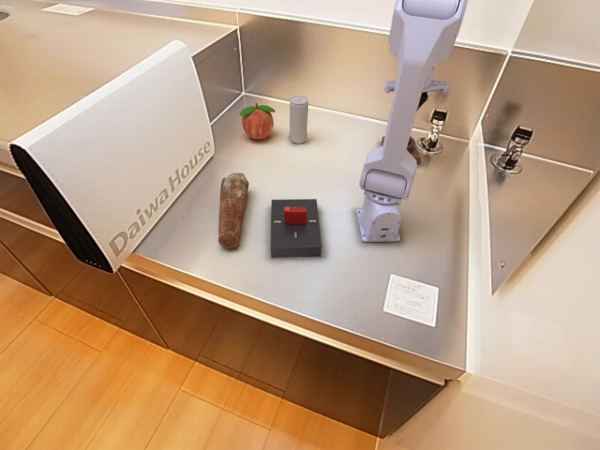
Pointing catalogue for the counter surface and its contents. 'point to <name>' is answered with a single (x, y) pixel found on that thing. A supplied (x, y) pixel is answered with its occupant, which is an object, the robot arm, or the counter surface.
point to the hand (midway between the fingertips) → (408, 119)
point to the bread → (232, 208)
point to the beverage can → (298, 119)
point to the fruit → (257, 121)
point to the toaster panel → (295, 230)
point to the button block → (410, 149)
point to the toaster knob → (294, 215)
